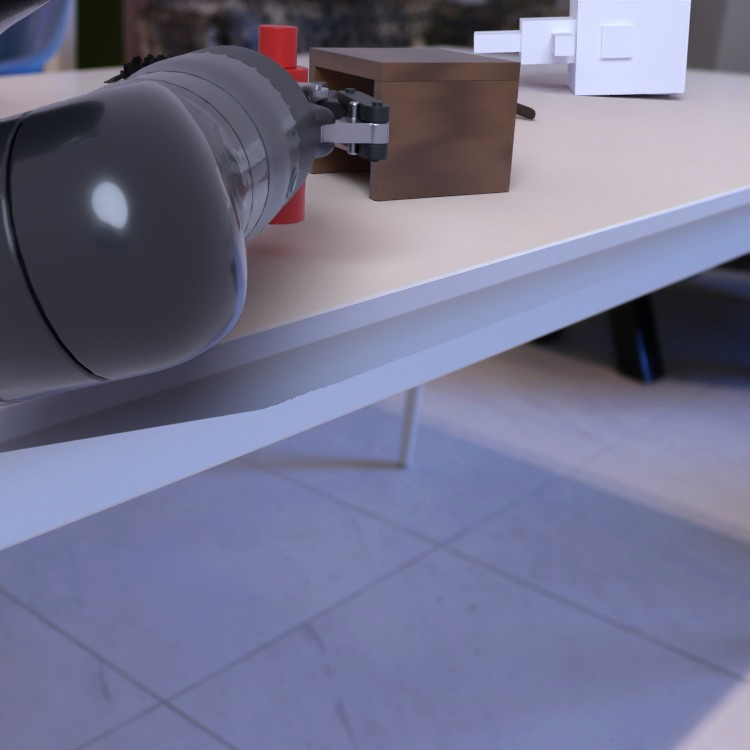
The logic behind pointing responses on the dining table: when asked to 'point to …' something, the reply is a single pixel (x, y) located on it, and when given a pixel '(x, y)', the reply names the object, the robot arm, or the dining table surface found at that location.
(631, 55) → the blocky voxel creature
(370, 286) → the dining table surface
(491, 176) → the shelf
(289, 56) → the bottle
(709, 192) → the dining table surface
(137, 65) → the pine cone
